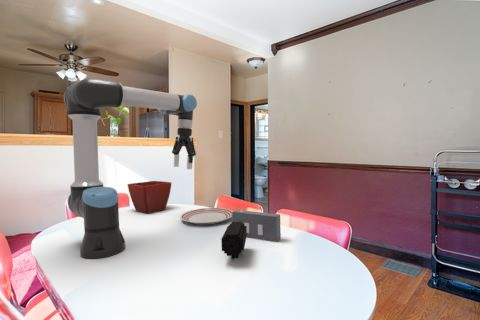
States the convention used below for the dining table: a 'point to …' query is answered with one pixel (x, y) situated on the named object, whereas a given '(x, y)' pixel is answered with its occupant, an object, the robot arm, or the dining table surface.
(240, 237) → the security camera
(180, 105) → the robot arm
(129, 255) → the dining table surface
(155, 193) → the plant pot
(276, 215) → the charging block
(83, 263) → the dining table surface
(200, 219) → the dinner plate
